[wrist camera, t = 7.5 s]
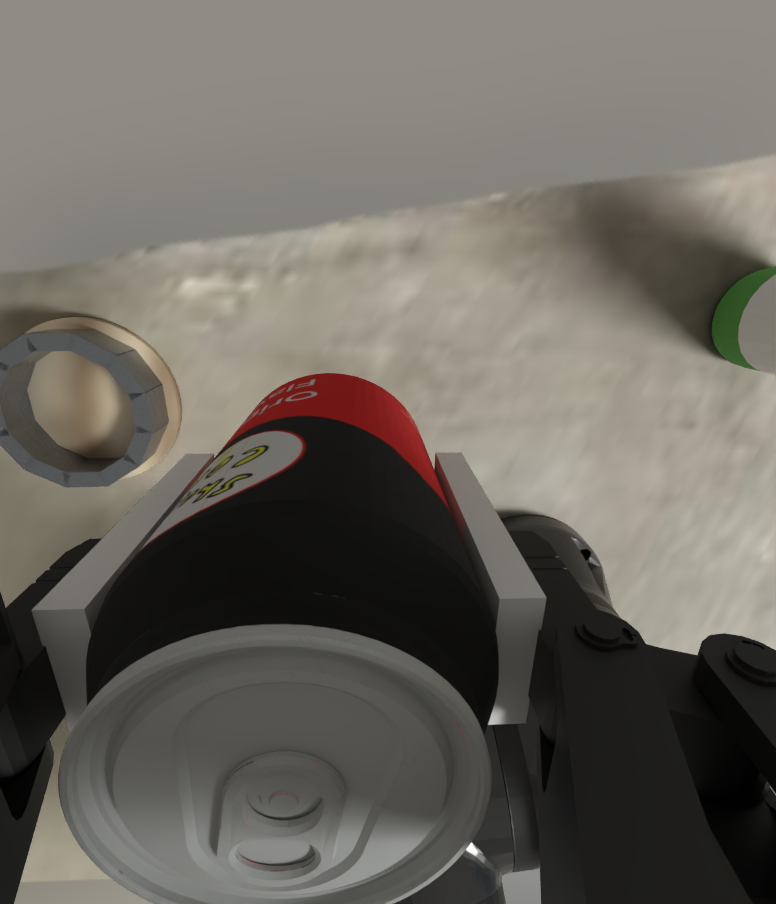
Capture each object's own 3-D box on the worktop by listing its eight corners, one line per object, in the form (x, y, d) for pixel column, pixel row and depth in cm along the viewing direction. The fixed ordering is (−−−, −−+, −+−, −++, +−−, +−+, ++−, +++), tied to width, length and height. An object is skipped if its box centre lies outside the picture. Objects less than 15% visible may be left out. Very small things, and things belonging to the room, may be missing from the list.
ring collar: (152, 328, 34) (134, 332, 31) (177, 469, 38) (163, 484, 35) (-8, 329, 34) (-41, 334, 31) (35, 473, 38) (9, 488, 35)
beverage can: (437, 383, 16) (615, 623, 5) (402, 539, 18) (472, 957, 7) (253, 352, 15) (-38, 549, 4) (239, 518, 17) (23, 948, 6)
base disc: (167, 316, 35) (161, 316, 34) (193, 473, 39) (189, 478, 39) (-12, 317, 34) (-23, 318, 33) (35, 477, 39) (27, 482, 38)
